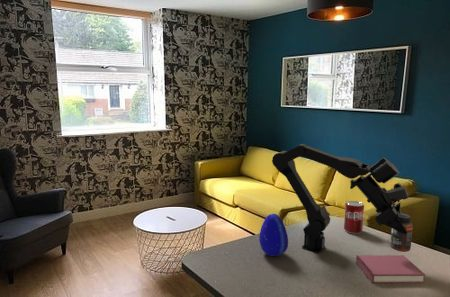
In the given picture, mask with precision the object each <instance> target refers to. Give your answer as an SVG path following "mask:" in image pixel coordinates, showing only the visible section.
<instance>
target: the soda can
mask: <svg viewBox="0 0 450 297" xmlns="http://www.w3.org/2000/svg"><path fill="white" fill-rule="evenodd" d="M364 214H365V205H364V203H363V202H360V201H358V200H348V201H347V200H346V202H345V206H344V219H343V221H344V222H343V223H344V224H343V230H344V231H345V232H346V233H349V234H352V235H357V234H358V235H359V234H361V233H363V230H364V229H363V228H364Z"/></svg>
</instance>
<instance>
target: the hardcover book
mask: <svg viewBox="0 0 450 297" xmlns="http://www.w3.org/2000/svg"><path fill="white" fill-rule="evenodd" d="M355 265H357V267H358V268H359V269H360V270H361V271H362V273H363V274H364V275H365V277H366V278H367V279H368V280H369V281H370V283H371V284H398V283H399V284H411V283H413V284H414V283H415V284H417V283H418V284H424V283H425V281H424V277H425V276H426V274H425V273H424V272H423V271H422V270H421V269H420V268H418V266H416V265H415V264H414V263H413V262H412V261H411V260H410V259H409V258H408V257H406V256H405V255H404V254H403V255H401V254H398V255H397V254H396V255H394V254H391V255H390V254H389V255H383V254H381V255H378V254H375V255H374V254H373V255H367V254H366V255H360V254H358V255H357V254H356V258H355Z"/></svg>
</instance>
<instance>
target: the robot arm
mask: <svg viewBox="0 0 450 297" xmlns="http://www.w3.org/2000/svg"><path fill="white" fill-rule="evenodd" d="M299 157H302V158H305V159H308V160H310V161H313V162H316V163H319V164H322V165H324V166H326V167H329V168H332V169H334V170H335V171H336V172H338V173H339V174H341V175H342V176H343V177H345V178H347V179H350V188H349V189H350V190H352V189H354V188H355V187H357V189H358V190H359V191H360V192H361V193H362V194H363V196H364V197H365V198H366V199H367V200H366V201H367V203H369V204H370V203H371V205H372V206H373V207H374V208H375V212H376V215H375V219H374V220H375V222H376V223H377V224H378V225H379V226H382V225H383V226H384V225H385V226H386V227H389V228H391V229H392V228H393V229H395V230H397V231H399V232H401V233H403V234H407V233H408V232H407V231H406V229H405V227H404V226H403V224H402V223H401V221H400V220H399V218H398V215H399V214H403V212H402V210H401V204H402V203H401V200H404V201H405V200H407V199H409V193H408V190H407V187H406V186H405V185H402V184H401V183H399V182H398V183H395V184H394V185H393V188H390V189H386V187H381V185H379V184H381V183H382V184H386V183H387V182H389V181H390V180H391V179H393V178H395V177H396V176H398V175H399V174H400V171H399V169H398V168H397V167H396V166H395V164H393V163H392V162H391V161H389V160H388V159H387V158H385V157H382V158H380V159H379V160H378V161H377V162H376V163H374V164H373V165H370V164H366V163H362V162H361V160H359V159H357V158H351V157H345V156H337V155H334V154H331V153H328V152H326V151H323V150H321V149H317V148H315V147H312V146H309V145H308V144H306V143H301V144H299V145H297V146H296V147H294V148H292V149H290V150H282V151H280V152H278V153H275V154H274V155H273V156H272V160H271V162H272V165H273V167H274V168H275V169H276V170H277V171H278V172H279V173H280V174H281V175H283V176H284V177H285V178H286V180H287V182H288V183H289V185H290V187H291V188H292V190H293V192H294V193H295V195H296V196H297V198H298V200H299V201H300V203H301V205H302V207H303V208H304V210H305V212H306V213H305V215H306V217H307V218H306V219H307V221H308V223H307V224H306V225H305V227H303V233H304V236H303V237H304V240H303V245H302V246H301V248H302V249H304V250H308V251H311V252H314V253H320V252H321V251H322V250H324V248H326V245H325V243H326V238H325V237H326V236H325V233H324V231H325V230H326V229H327V227H329V224H330V222H331V216H330V215H331V214H330V212H329V211H328V210H327V208H326V206H325V205H322V206H320V204H318V203H317V202H316V200H315V199H314V197H313V195H312V194H311V192H310V191H309V188H308V187H307V186H306V184H305V182H304V181H303V179H302V178H301V176H300V174H299V173H298V171H297V167H296V162H295V159H298V158H299ZM357 177H358V178H357Z"/></svg>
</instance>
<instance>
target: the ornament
mask: <svg viewBox="0 0 450 297" xmlns="http://www.w3.org/2000/svg"><path fill="white" fill-rule="evenodd" d="M258 237H259V239H258V240H259V246H260V248H261V250H262V251H263V252H264V253H265V254H266V255H267V256H270V257H278V256H281V255H283V254H284V253H286V251H287V250H288V246H289V237H288V232H287V229H286V226H285V224H284V221H283V220H282V218H281V217H280V216H279V215H278V214H276V213H271V214H268V215H267V216H266V217H265V219H264V221H263V222H262V225H261V228H260V230H259V236H258Z"/></svg>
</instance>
